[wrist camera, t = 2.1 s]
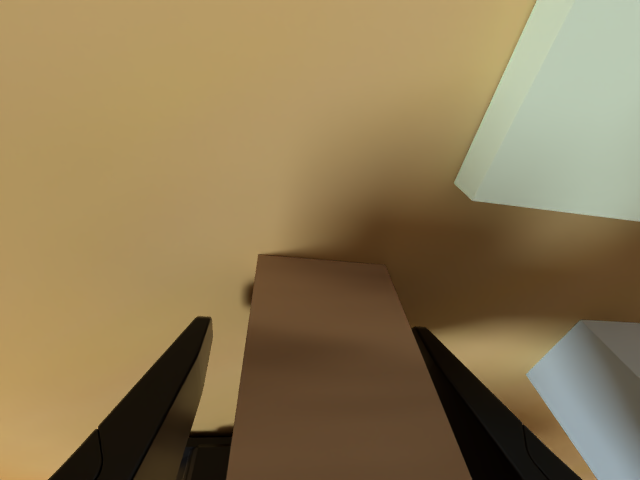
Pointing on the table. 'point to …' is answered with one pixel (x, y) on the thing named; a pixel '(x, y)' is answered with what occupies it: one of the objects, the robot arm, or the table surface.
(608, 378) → the gray block
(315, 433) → the walnut block
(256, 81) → the table surface
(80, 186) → the table surface
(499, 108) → the plate
